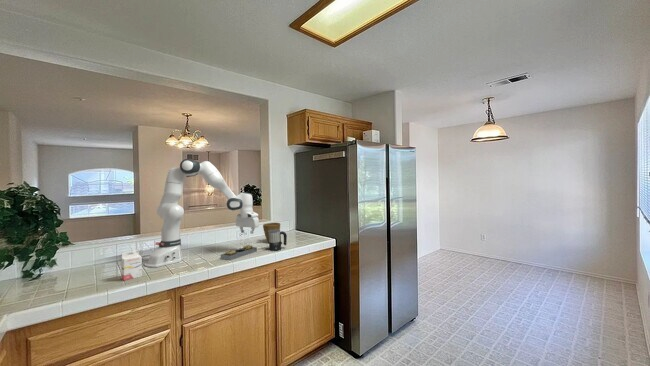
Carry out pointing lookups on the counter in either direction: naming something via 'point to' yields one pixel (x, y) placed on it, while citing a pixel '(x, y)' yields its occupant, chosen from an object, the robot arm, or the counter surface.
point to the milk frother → (276, 240)
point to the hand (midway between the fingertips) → (247, 233)
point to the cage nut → (247, 247)
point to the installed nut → (230, 252)
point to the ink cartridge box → (131, 265)
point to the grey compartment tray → (238, 253)
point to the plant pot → (270, 228)
